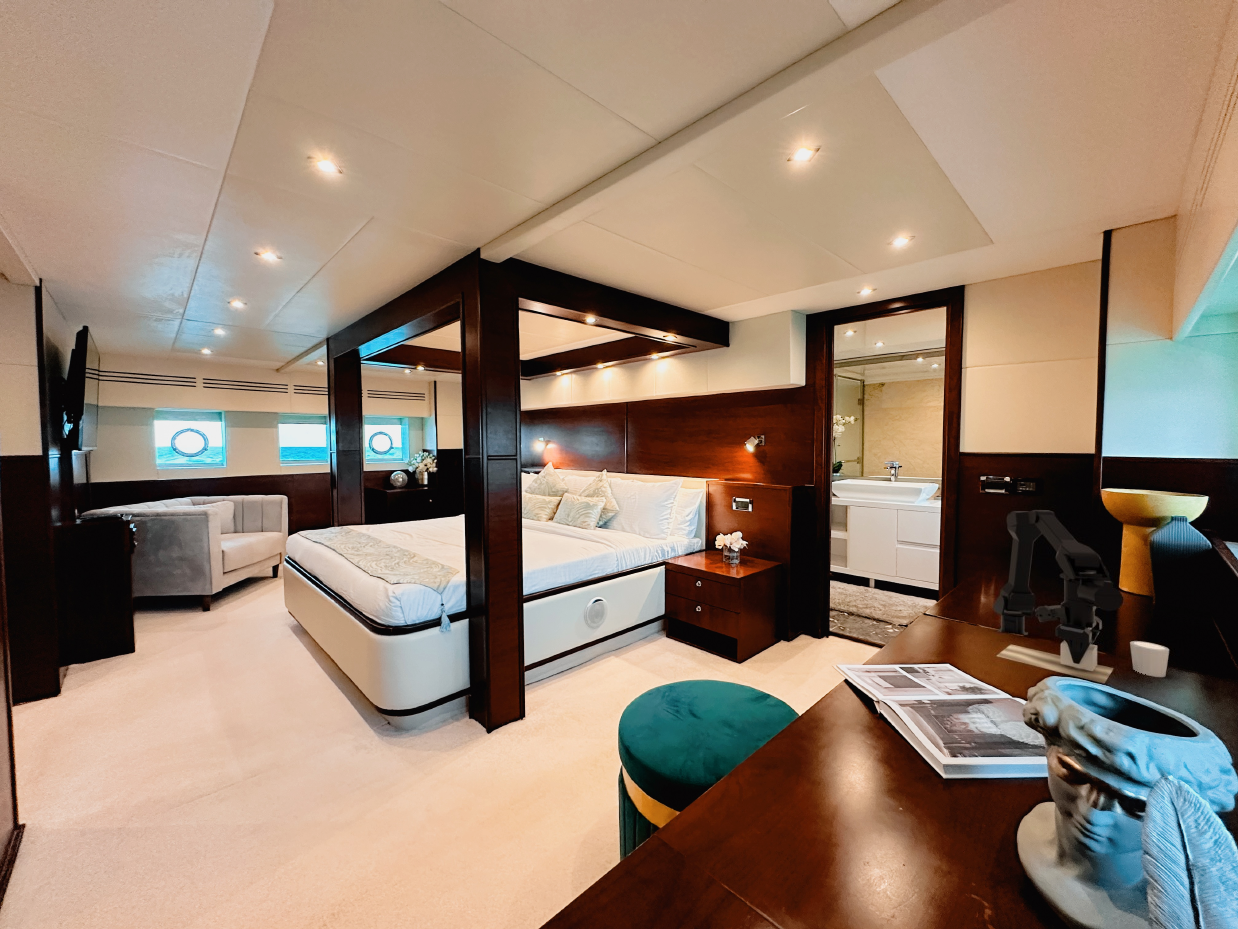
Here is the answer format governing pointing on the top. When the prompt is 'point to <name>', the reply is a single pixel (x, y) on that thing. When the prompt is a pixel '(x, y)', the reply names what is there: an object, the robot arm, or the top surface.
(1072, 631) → the robot arm
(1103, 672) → the maple board
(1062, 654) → the box
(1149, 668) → the shot glass
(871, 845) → the top surface
